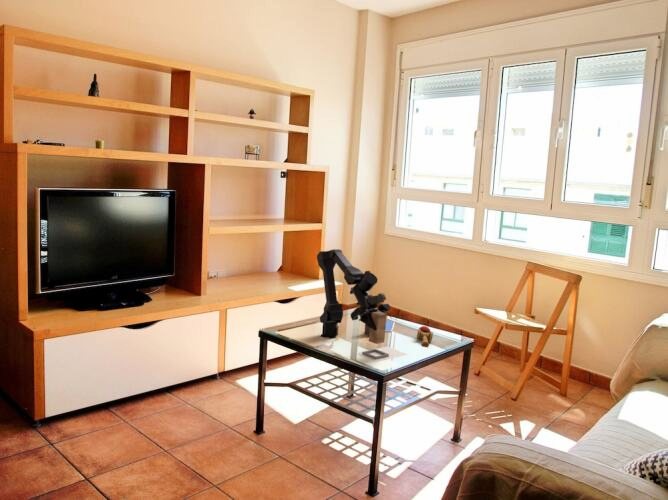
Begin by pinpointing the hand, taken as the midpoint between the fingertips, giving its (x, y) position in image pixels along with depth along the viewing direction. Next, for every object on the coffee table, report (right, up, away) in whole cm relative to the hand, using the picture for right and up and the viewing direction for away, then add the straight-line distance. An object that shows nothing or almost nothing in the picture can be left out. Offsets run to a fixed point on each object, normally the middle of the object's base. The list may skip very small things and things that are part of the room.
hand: (380, 329), depth 233 cm
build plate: (+1, -12, +5) cm, 13 cm away
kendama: (+23, -10, +30) cm, 39 cm away
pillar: (-1, -5, +2) cm, 6 cm away
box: (0, -8, +38) cm, 39 cm away
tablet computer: (+5, -6, +53) cm, 54 cm away
